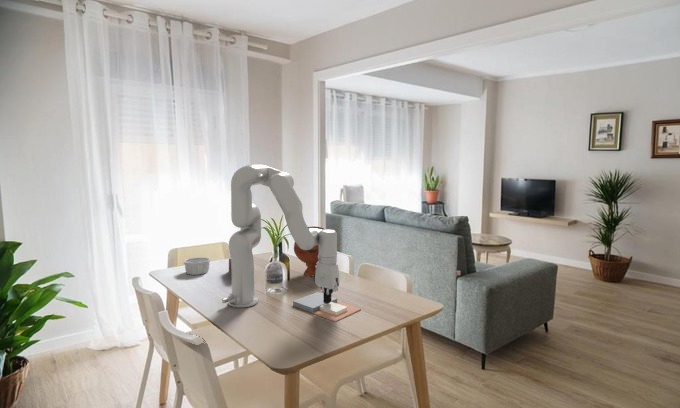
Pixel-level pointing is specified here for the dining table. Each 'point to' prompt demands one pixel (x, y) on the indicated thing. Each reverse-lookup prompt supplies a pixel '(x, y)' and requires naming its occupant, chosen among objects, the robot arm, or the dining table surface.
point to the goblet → (308, 257)
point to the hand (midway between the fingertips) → (327, 302)
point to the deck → (312, 302)
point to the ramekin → (197, 265)
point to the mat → (336, 318)
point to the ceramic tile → (333, 308)
